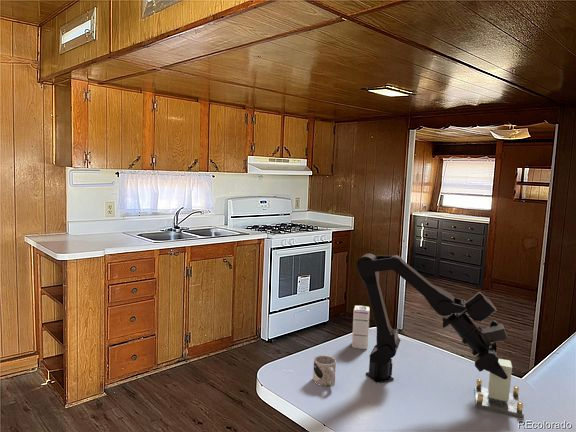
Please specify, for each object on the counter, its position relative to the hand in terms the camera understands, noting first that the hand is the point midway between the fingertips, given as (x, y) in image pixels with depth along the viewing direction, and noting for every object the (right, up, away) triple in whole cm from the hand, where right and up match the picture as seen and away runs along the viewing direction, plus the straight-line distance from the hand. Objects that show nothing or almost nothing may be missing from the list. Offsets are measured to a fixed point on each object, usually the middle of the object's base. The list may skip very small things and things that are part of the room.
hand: (505, 374), depth 127 cm
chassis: (-2, -8, +1) cm, 9 cm away
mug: (-50, -6, +8) cm, 51 cm away
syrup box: (-35, -3, +39) cm, 53 cm away
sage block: (-2, -6, +1) cm, 7 cm away
